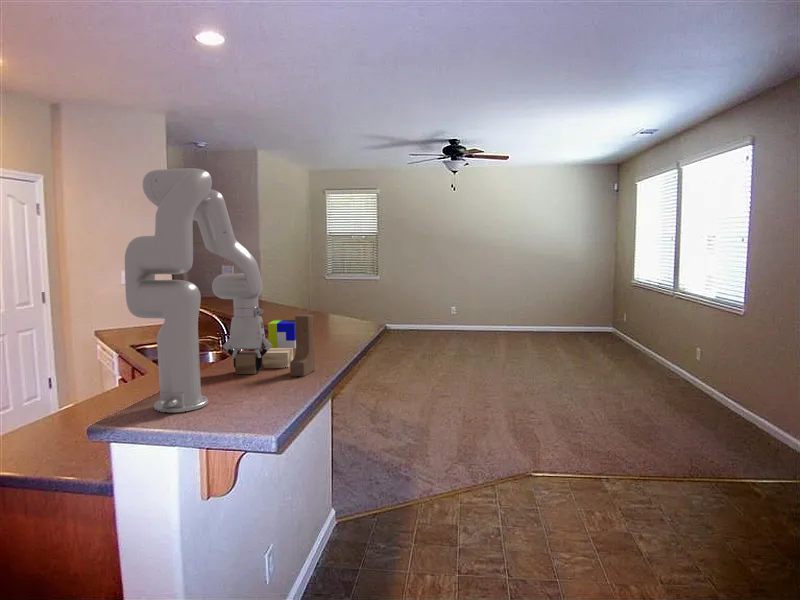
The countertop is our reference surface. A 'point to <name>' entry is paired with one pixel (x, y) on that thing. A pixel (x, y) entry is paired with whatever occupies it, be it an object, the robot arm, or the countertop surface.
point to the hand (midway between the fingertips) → (248, 369)
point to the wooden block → (303, 346)
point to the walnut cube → (246, 362)
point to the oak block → (278, 358)
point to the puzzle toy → (282, 334)
